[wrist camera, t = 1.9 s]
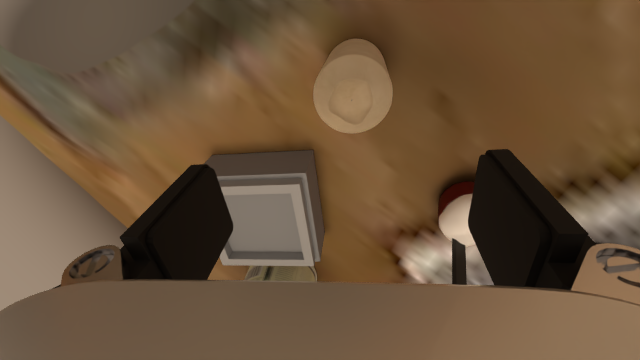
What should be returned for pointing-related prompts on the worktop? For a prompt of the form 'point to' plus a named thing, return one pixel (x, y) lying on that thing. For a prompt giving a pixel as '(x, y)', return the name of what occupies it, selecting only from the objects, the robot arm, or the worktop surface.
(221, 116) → the worktop surface
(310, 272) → the coffee can
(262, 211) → the pedestal
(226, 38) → the worktop surface
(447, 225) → the cocoa
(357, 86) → the candle
